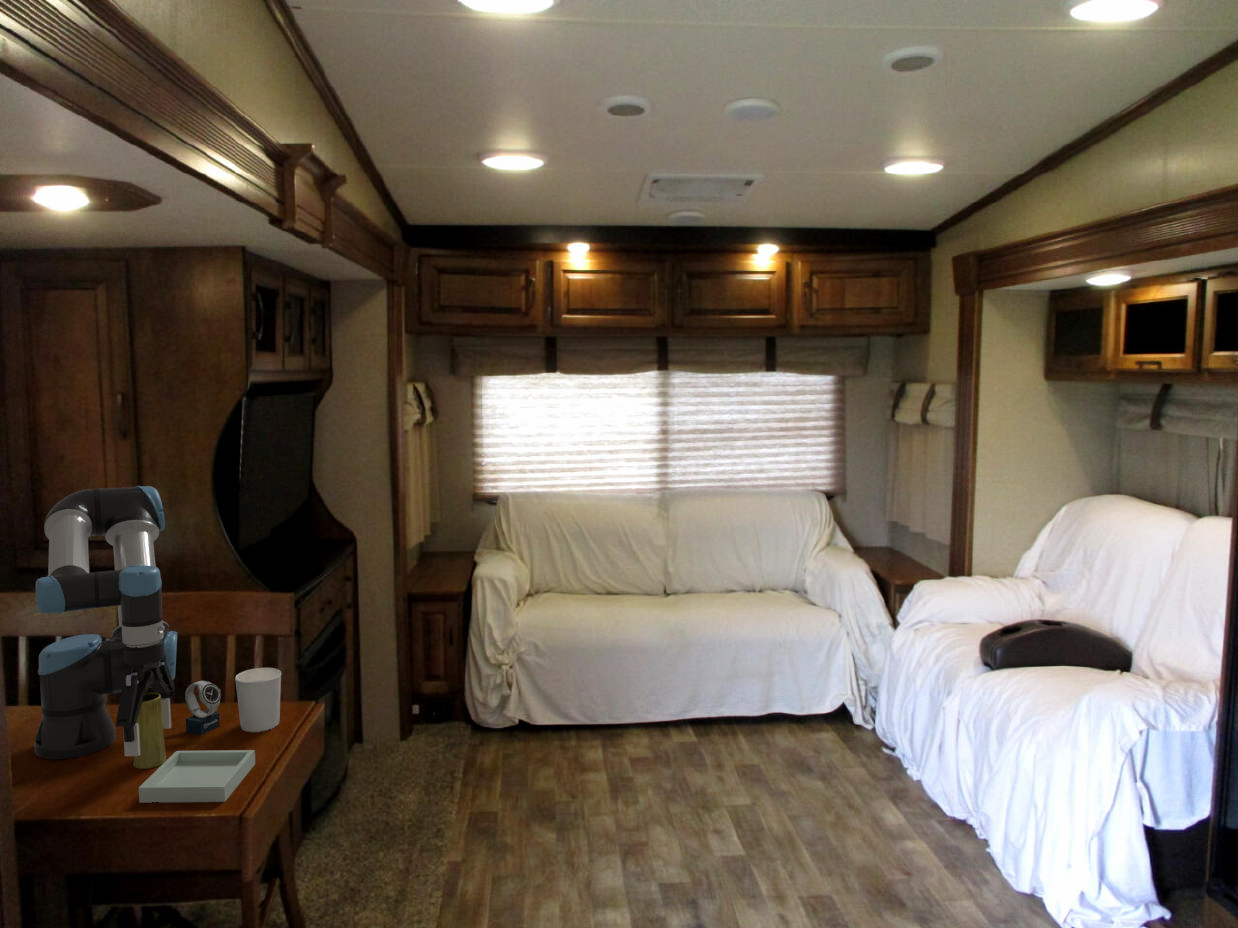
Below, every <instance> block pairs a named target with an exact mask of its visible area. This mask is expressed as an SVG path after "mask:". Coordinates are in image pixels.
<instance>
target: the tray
mask: <svg viewBox="0 0 1238 928" xmlns="http://www.w3.org/2000/svg"><path fill="white" fill-rule="evenodd" d="M255 765H256V750H255V749H253V750H252V749H247V750H246V749H240V750H239V749H238V750H236V749H235V750H233V749H231V750H228V749H227V750H220V749H219V750H218V749H217V750H215V749H214V750H176V751H174V752H173V753H172V755H171V756H169V757H168V759H166V761H165V762H164V763H163V764H161V765H159V766H158V768H157V769H156V770H155V771H154V772H153V773H152V774H151V775H150V776H149V777H148V778H147V779H146V780H145V781H144V782H143V783H142V784H141V785H140V786H138V802H139V804H140V803H142V804H143V803H147V804H148V803H150V804H151V803H152V802H154V803H155V802H159V803H225V802H226V801H227V800H228V799H229V797H230V796H231V795H232V794H233V792H234V791H235V790H236V789H237V788H238V787H239V785H240V784H241V783H242V781H243V780H244V779H245V778H246V776H247V775H248V774H249V772H251V770H252V768H254V766H255ZM152 804H153V803H152Z"/></svg>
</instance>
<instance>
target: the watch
mask: <svg viewBox="0 0 1238 928" xmlns="http://www.w3.org/2000/svg"><path fill="white" fill-rule="evenodd" d="M195 687H197V690H198V698H199V700H200V702H201V703H202V704H203V705H205V707H206V709H207V710H206V709H204V710H201V707H200V705H199V703H198V700H197V697H196V695H195V694H194V693H195V692H194V689H195ZM184 695H185V697H184V700H185V703H186V706H187V708H188V711H189V712H190V713H191V714H192V715H191V716H188V717H187V718H185V733H189V734H194V735H199V736H202V735H204V734H206V733H209V732H210V731H213V730H214V729H216V728H219V727H221V725H220V723H221V721H220V712H217V710H218V708H219V705H220V702H221V701H220V700H221V696H222V693H221V689H220V688H219V687H218V686H217V685H216V684H214V683H212V682H210V681H206V680H199V681H196V682H193V683H192V684H189V685H188V687H187V688H186V689H185V694H184Z"/></svg>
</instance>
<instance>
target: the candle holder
mask: <svg viewBox="0 0 1238 928" xmlns="http://www.w3.org/2000/svg"><path fill="white" fill-rule="evenodd" d="M281 676H282V671H281V670H279V669H278V668H274V667H256V668H251V669H246V670H244V671H241V672H239V673H238V674H236V675H235V678H234V680H235V686H236V697H237V706H238V713H239V714H238V715H239V724H240V728H241V730H242V731H244V732H247V733H260V732H261V731H262V732H266V731H269V729H270V730H272V729H274V728H276V727H277V726H278V725H279V724H280V721H281V720H280V719H281V718H280V717H281V716H280V715H281V685H282V684H281V683H282V682H281V681H282V680H281V679H282V677H281ZM275 726H276V727H275Z"/></svg>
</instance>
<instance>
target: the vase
mask: <svg viewBox="0 0 1238 928" xmlns="http://www.w3.org/2000/svg"><path fill="white" fill-rule="evenodd" d="M136 723H139V738H140V755H139V756H133V764H132V765H133V767H134V768H136V769H138V770H139V769H140V770H147V769H148V770H149V769H153V768H156V767H160V766H161V765H162V764H163V763H164V762H166V761H167V755H166V745H165V735H164V729H163V722H162V707H161V695H160V694H158V693H155V692H146V693H145V694H144V696H143V700H142V703H141V707H140V710H139V714H138V718H137V721H136Z"/></svg>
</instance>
